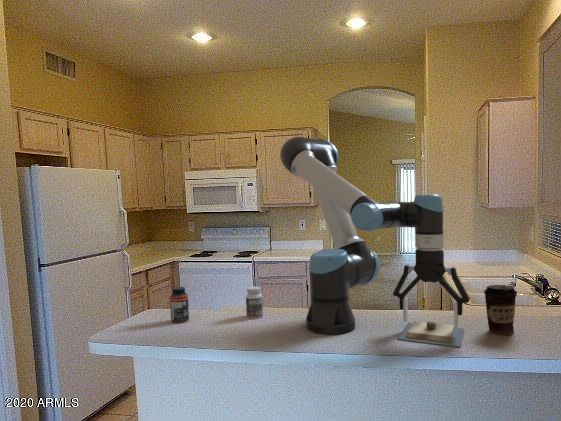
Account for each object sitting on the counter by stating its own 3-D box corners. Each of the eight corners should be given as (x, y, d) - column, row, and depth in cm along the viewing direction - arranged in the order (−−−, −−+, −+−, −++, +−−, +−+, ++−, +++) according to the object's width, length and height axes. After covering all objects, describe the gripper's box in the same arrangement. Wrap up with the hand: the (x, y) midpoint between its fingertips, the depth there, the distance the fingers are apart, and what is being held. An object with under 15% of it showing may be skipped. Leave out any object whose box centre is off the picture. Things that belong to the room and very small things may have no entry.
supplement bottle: (175, 318, 139) (174, 285, 139) (192, 318, 138) (190, 285, 138) (167, 323, 133) (166, 289, 133) (184, 323, 132) (183, 289, 132)
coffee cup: (523, 337, 109) (522, 290, 108) (490, 336, 110) (489, 289, 110) (511, 327, 117) (510, 283, 117) (481, 327, 119) (480, 283, 119)
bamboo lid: (407, 336, 112) (407, 326, 111) (414, 325, 121) (414, 315, 121) (450, 342, 106) (450, 330, 106) (454, 330, 116) (453, 319, 116)
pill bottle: (248, 314, 141) (247, 286, 141) (264, 314, 140) (263, 286, 140) (245, 319, 135) (244, 289, 135) (261, 318, 135) (260, 289, 135)
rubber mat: (397, 339, 111) (397, 338, 110) (407, 323, 125) (407, 322, 125) (460, 347, 103) (460, 346, 103) (464, 329, 117) (464, 328, 117)
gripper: (381, 248, 116) (383, 321, 117) (477, 252, 104) (478, 333, 105) (387, 246, 123) (389, 315, 123) (478, 249, 111) (479, 325, 111)
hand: (430, 323), depth 114 cm, fingers open, 13 cm apart
